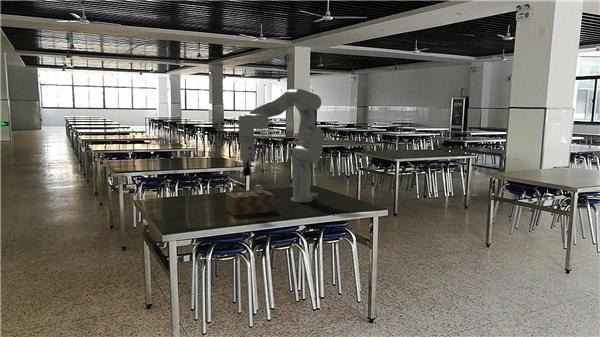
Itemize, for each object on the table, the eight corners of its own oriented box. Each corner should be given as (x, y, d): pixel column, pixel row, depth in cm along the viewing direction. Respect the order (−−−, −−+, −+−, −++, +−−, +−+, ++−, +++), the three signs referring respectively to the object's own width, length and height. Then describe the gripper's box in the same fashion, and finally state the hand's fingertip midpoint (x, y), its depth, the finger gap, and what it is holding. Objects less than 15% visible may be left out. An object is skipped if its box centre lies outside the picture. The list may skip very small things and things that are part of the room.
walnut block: (265, 206, 245) (265, 190, 244) (274, 211, 234) (274, 194, 233) (225, 210, 235) (225, 193, 234) (233, 215, 225) (232, 197, 224)
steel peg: (261, 199, 239) (261, 184, 238) (264, 201, 236) (264, 185, 234) (254, 200, 237) (254, 185, 236) (256, 201, 234) (256, 186, 233)
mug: (246, 203, 243) (242, 185, 245) (229, 208, 246) (225, 190, 247) (254, 203, 255) (250, 186, 257) (238, 207, 258) (234, 190, 259)
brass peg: (243, 208, 235) (243, 192, 234) (245, 209, 232) (245, 194, 231) (235, 208, 233) (235, 193, 232) (238, 210, 230) (238, 194, 229)
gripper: (258, 140, 224) (259, 177, 227) (248, 138, 237) (249, 173, 240) (244, 141, 221) (244, 178, 224) (234, 138, 234) (235, 173, 237)
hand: (247, 175), depth 232 cm, fingers closed
